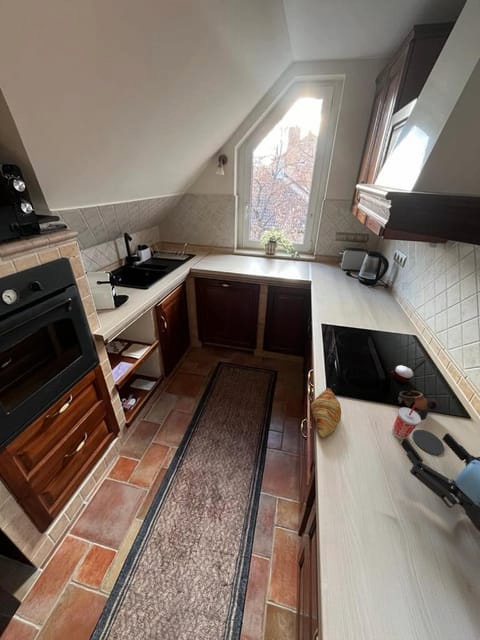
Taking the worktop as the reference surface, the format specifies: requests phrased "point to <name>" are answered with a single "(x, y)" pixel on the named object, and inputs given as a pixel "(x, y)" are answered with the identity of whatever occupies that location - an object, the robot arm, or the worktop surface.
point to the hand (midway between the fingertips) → (424, 438)
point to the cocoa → (405, 372)
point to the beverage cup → (405, 422)
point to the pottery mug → (418, 402)
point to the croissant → (326, 412)
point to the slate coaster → (428, 442)
